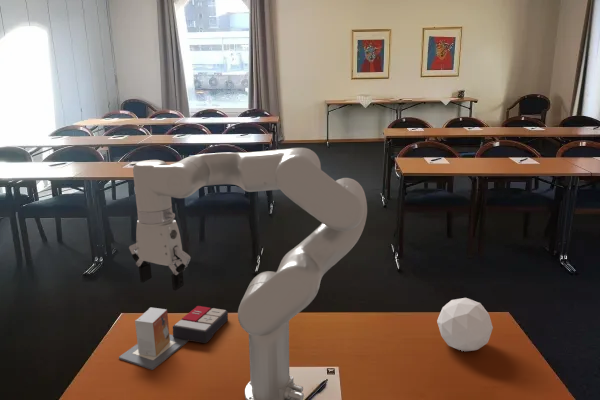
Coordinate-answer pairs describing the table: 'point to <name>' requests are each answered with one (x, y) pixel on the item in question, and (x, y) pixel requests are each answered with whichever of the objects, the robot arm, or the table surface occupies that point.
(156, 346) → the small box
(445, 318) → the geometric sphere
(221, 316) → the calculator
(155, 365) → the board
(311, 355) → the table surface
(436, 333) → the table surface
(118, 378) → the table surface
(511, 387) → the table surface
